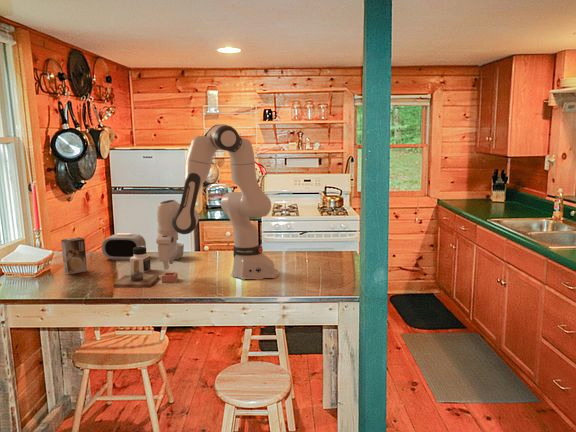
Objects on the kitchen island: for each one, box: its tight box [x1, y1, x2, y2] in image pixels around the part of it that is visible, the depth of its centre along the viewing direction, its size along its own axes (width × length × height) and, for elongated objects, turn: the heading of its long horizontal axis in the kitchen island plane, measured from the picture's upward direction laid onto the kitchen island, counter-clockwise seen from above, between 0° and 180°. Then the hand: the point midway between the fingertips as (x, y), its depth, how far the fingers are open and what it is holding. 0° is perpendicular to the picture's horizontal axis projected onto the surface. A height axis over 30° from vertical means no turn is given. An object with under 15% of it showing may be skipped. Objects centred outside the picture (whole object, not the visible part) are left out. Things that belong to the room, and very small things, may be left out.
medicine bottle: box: [129, 246, 152, 274], centre depth 243 cm, size 7×7×12 cm
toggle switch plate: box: [113, 260, 160, 288], centre depth 225 cm, size 16×14×10 cm
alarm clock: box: [101, 232, 147, 261], centre depth 267 cm, size 21×10×13 cm, turn 88°
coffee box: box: [61, 236, 88, 275], centre depth 241 cm, size 9×6×16 cm
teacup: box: [174, 242, 185, 261], centre depth 266 cm, size 14×11×8 cm
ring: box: [161, 271, 179, 283], centre depth 228 cm, size 6×6×3 cm
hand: (168, 266), depth 227 cm, fingers open, 8 cm apart
